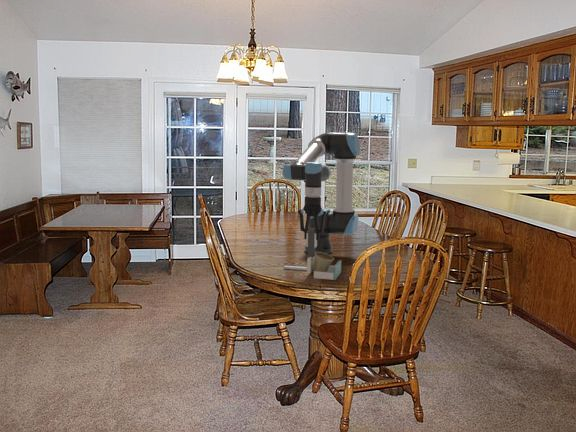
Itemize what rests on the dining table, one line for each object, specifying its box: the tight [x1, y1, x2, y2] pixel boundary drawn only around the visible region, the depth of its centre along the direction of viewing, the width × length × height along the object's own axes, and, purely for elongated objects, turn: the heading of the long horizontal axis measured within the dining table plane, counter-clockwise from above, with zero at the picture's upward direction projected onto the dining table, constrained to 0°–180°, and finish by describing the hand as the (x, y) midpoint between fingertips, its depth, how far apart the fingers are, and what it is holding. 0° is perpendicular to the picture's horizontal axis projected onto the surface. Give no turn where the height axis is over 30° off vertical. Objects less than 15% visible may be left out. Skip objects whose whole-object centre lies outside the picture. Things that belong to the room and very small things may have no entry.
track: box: [283, 265, 307, 272], centre depth 293 cm, size 2×17×1 cm, turn 75°
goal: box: [313, 259, 342, 281], centre depth 282 cm, size 14×10×6 cm
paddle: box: [306, 228, 316, 274], centre depth 285 cm, size 13×4×20 cm, turn 165°
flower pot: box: [312, 252, 335, 273], centre depth 283 cm, size 9×9×9 cm
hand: (311, 246), depth 283 cm, fingers closed on paddle, 3 cm apart
